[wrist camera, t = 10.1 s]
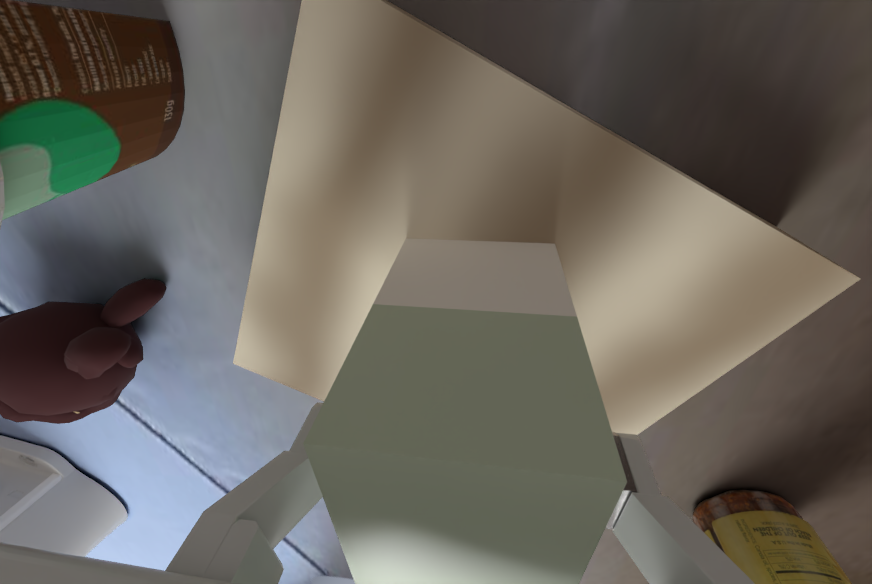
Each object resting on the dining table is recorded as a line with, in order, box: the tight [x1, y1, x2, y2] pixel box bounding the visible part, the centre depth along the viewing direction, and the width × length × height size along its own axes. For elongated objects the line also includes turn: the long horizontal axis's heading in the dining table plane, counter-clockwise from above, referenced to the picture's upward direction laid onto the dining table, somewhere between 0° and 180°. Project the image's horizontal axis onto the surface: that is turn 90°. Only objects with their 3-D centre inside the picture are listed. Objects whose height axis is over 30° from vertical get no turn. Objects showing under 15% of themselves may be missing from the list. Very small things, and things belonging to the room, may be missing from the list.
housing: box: [303, 238, 627, 584], centre depth 11 cm, size 8×5×8 cm, turn 1°
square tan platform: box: [233, 0, 860, 435], centre depth 16 cm, size 18×16×4 cm
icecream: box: [0, 278, 166, 424], centre depth 21 cm, size 7×7×15 cm
